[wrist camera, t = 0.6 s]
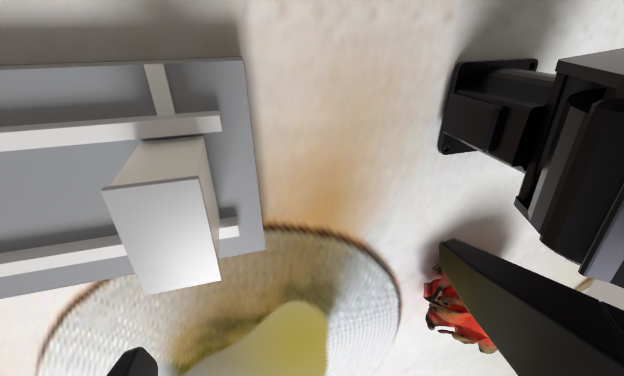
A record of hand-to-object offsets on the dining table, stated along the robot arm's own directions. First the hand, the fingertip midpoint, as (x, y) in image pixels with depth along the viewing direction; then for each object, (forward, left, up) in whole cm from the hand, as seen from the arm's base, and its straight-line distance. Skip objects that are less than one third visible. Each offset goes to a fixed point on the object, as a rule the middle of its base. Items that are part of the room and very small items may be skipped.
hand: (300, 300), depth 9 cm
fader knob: (+4, +1, -10) cm, 11 cm away
